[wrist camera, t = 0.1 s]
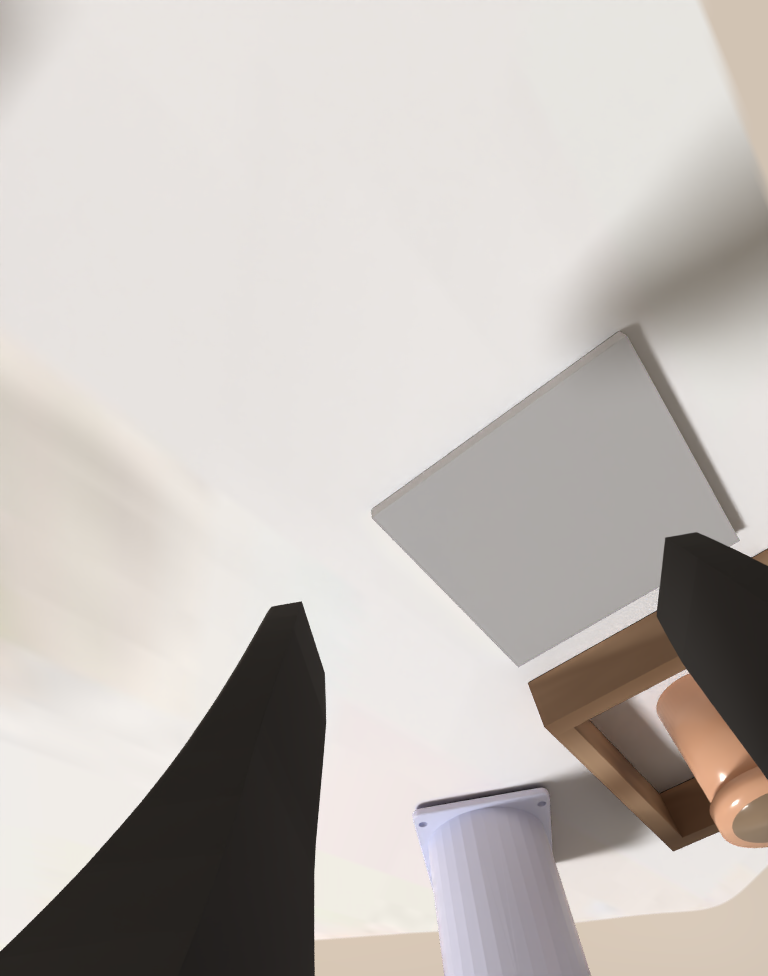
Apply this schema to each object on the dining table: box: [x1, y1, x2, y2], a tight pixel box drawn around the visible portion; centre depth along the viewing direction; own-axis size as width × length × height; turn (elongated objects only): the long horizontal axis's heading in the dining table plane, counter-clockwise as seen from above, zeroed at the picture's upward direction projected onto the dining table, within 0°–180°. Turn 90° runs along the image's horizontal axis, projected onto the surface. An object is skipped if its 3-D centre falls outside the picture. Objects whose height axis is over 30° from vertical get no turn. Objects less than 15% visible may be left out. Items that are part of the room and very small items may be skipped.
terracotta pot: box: [657, 674, 768, 848], centre depth 25 cm, size 5×5×6 cm
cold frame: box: [528, 549, 768, 851], centre depth 27 cm, size 15×12×2 cm
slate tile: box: [371, 331, 740, 667], centre depth 22 cm, size 11×11×1 cm
